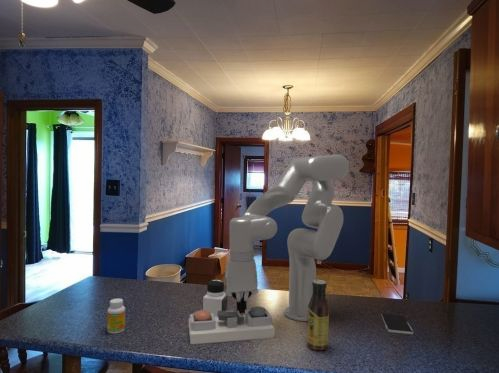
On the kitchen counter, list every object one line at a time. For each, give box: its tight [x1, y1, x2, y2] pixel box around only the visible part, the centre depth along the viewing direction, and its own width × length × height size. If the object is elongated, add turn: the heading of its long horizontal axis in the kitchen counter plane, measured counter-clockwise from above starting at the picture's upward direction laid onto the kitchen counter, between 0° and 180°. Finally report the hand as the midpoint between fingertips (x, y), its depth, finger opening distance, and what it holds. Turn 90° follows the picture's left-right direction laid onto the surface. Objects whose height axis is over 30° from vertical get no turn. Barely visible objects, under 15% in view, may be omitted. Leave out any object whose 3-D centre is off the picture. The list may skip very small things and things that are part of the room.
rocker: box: [217, 310, 244, 323], centre depth 115 cm, size 8×4×2 cm, turn 102°
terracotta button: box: [194, 309, 211, 322], centre depth 113 cm, size 5×5×2 cm
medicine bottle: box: [202, 279, 228, 317], centre depth 130 cm, size 7×7×12 cm
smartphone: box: [380, 312, 414, 335], centre depth 124 cm, size 8×1×15 cm
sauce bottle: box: [306, 279, 330, 351], centre depth 106 cm, size 7×6×20 cm
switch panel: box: [188, 308, 276, 345], centre depth 115 cm, size 26×12×6 cm, turn 102°
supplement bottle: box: [106, 298, 126, 335], centre depth 115 cm, size 5×5×10 cm
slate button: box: [249, 305, 266, 318], centre depth 117 cm, size 5×5×2 cm
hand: (241, 311), depth 116 cm, fingers closed
